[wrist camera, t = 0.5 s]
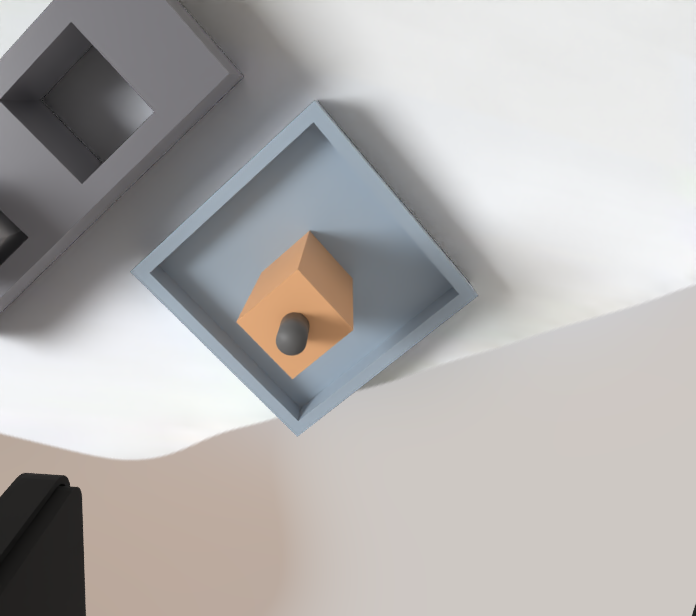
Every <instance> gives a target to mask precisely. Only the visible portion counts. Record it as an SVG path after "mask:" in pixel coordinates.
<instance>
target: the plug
mask: <svg viewBox="0 0 696 616" xmlns="http://www.w3.org/2000/svg"><path fill="white" fill-rule="evenodd" d="M237 323H238V324H239V325H240V326H241V327H242V328H243V329H244V330H245V331H246V332H247V333H248V334H249V335H250V336H251V338H252V339H253V340H254V341H255V342H256V343H257V344H258V345H259V346H260V347H261V348H262V349H263V350H264V351H265V352H266V353H267V354H268V355H269V356H270V357H271V358H272V359H273V360H274V361H275V362H276V363H277V364H278V365H279V366H280V367H281V368H282V369H283V370H284V371H285V372H286V373H287V374H288V375H289V376H290V377H291V378H292V379H293V378H295V377H296V376H297V375H298V374H300V373H301V372H302V371H303V370H305V369H306V368H307V367H308V366H309V365H311V364H312V363H313V362H314V361H316V360H317V359H318V358H319V357H321V356H322V355H323V354H324V353H326V352H327V351H328V350H329V349H330V348H332V347H333V346H334V345H335V344H337V343H338V342H339V341H340V340H342V339H343V338H344V337H345V336H347V335H348V334H349V333H350V332H351V331H353V278H352V277H351V276H350V275H349V274H348V273H347V272H346V271H345V270H344V268H343V267H342V266H341V265H340V264H339V263H338V262H337V261H336V260H335V258H334V257H333V256H332V255H331V254H330V253H329V252H328V251H327V250H326V248H325V247H324V246H323V245H322V244H321V243H320V242H319V241H318V239H317V238H316V237H315V236H314V235H313V234H312V233H311V232H310V231H308V232H307V233H306V234H305V235H304V236H303V237H302V238H300V239H299V240H298V241H297V242H296V243H295V244H294V245H292V246H291V247H290V248H289V249H288V250H287V251H285V252H284V253H283V254H282V255H281V256H280V257H279V258H277V259H276V260H275V261H274V262H273V263H272V264H271V265H269V266H268V267H267V268H266V269H265V270H264V271H263V272H261V274H260V276H259V278H258V280H257V282H256V284H255V286H254V288H253V290H252V292H251V294H250V296H249V298H248V300H247V302H246V304H245V306H244V308H243V310H242V312H241V314H240V316H239V318H238V320H237Z"/></svg>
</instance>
